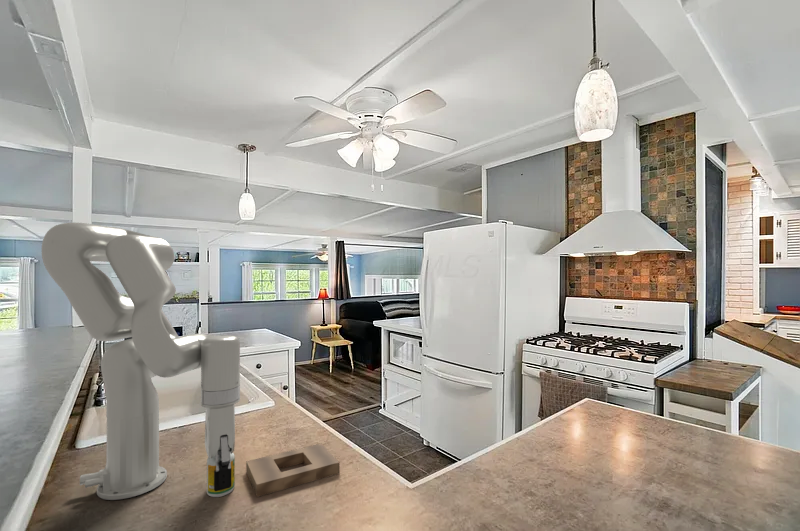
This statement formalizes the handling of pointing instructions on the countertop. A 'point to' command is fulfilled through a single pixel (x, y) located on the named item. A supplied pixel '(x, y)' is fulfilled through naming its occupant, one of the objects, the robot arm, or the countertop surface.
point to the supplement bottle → (210, 477)
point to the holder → (272, 479)
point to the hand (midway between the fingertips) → (220, 481)
